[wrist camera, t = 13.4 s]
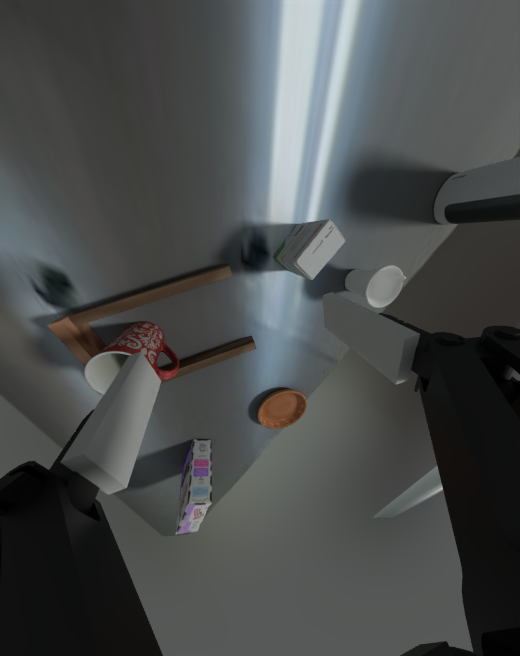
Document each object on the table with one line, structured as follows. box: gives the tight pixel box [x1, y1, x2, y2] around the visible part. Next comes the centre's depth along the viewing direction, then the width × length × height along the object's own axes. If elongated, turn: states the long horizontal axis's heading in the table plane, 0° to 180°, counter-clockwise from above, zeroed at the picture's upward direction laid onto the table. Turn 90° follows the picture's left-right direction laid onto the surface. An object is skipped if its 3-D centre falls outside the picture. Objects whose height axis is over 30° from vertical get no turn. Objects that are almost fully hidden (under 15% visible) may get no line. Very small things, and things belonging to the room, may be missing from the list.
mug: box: [84, 322, 179, 395], centre depth 36 cm, size 13×9×14 cm
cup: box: [345, 265, 406, 308], centre depth 43 cm, size 9×9×10 cm
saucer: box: [258, 389, 307, 429], centre depth 59 cm, size 16×16×3 cm
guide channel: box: [47, 264, 256, 383], centre depth 40 cm, size 20×32×5 cm, turn 105°
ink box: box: [273, 219, 346, 280], centre depth 35 cm, size 8×5×12 cm, turn 140°
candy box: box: [176, 439, 212, 534], centre depth 54 cm, size 14×6×16 cm, turn 158°
